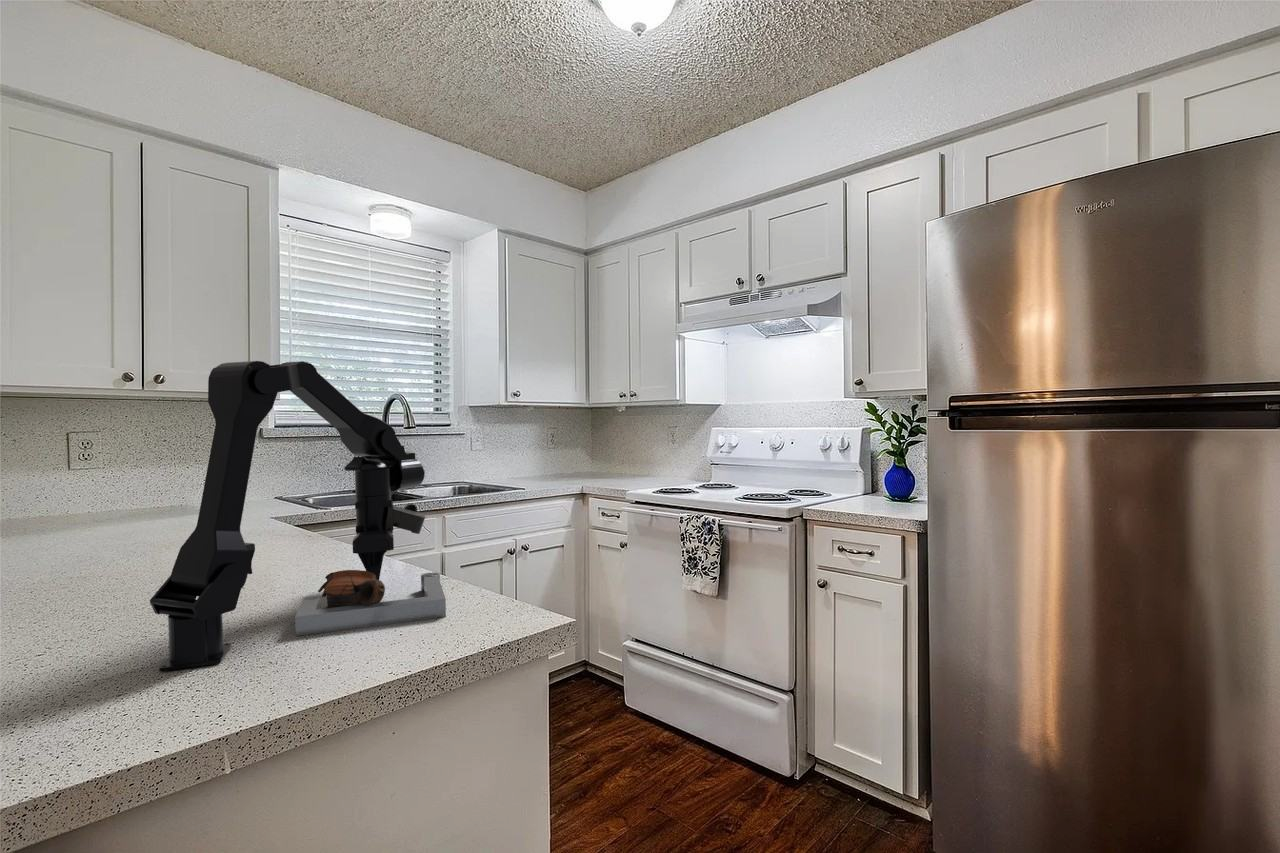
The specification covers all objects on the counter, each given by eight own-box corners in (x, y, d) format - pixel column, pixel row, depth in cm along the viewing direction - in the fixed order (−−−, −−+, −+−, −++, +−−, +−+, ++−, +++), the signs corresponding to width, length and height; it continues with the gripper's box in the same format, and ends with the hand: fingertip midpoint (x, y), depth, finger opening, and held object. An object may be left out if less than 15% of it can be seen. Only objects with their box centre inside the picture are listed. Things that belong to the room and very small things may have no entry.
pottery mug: (298, 628, 94) (307, 574, 98) (346, 636, 102) (352, 586, 106) (362, 613, 90) (368, 558, 94) (406, 623, 98) (410, 572, 102)
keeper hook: (448, 616, 97) (448, 598, 97) (295, 636, 89) (295, 616, 89) (439, 586, 113) (438, 571, 113) (309, 601, 105) (309, 585, 105)
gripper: (424, 498, 104) (426, 590, 104) (419, 486, 121) (420, 565, 121) (351, 502, 100) (353, 599, 100) (356, 489, 117) (358, 571, 117)
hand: (375, 582), depth 110 cm, fingers closed
